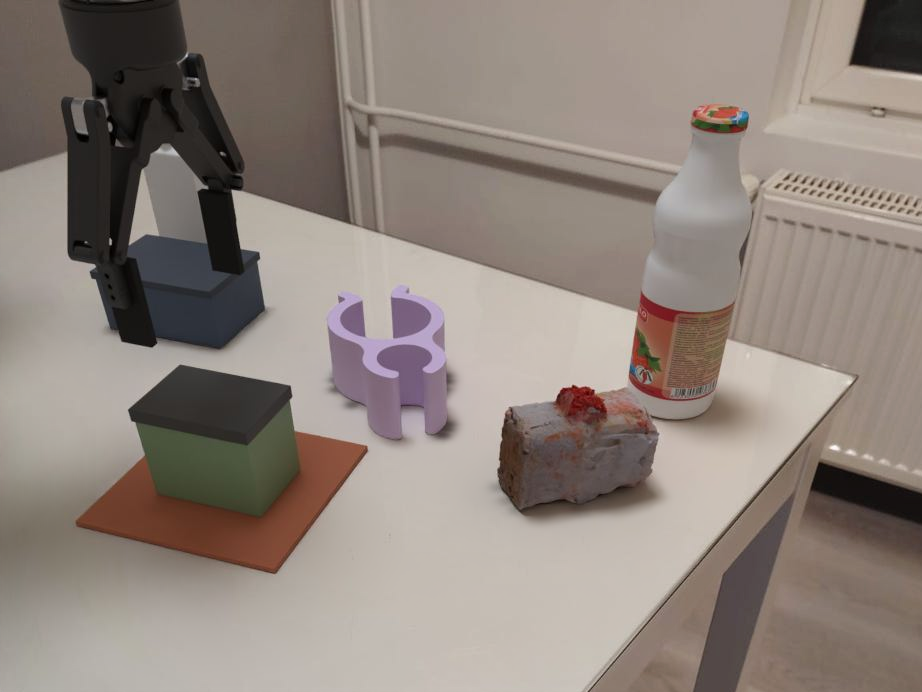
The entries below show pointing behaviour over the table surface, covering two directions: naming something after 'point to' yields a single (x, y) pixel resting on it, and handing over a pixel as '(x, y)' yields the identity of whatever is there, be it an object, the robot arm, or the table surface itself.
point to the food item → (575, 446)
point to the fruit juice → (692, 271)
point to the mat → (224, 531)
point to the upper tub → (218, 439)
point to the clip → (391, 361)
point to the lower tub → (192, 291)
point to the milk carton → (175, 196)
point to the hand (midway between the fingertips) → (186, 305)
